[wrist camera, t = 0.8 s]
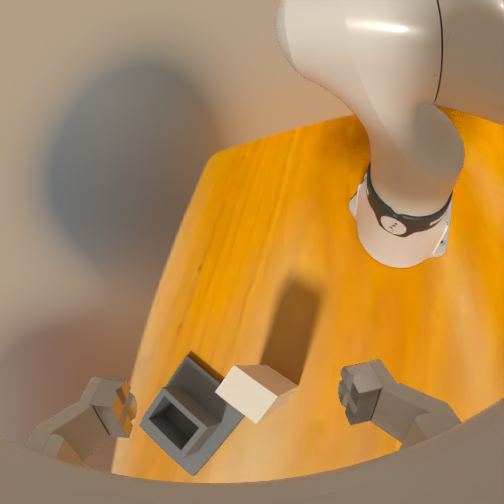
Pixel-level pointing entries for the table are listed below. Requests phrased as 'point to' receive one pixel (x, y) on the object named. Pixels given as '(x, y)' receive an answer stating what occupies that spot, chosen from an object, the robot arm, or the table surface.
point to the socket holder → (190, 417)
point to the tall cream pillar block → (256, 390)
